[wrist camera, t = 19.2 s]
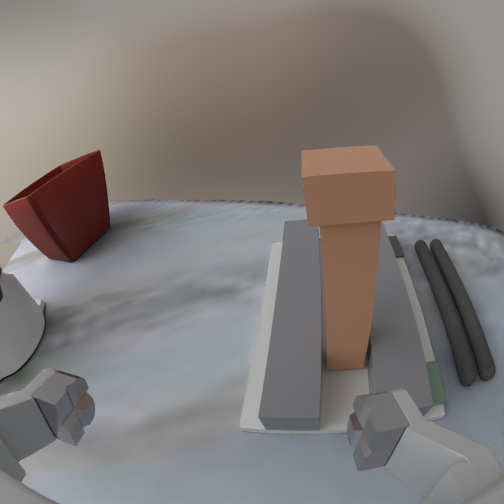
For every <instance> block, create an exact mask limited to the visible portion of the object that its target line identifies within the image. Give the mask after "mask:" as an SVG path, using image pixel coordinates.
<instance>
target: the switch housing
mask: <svg viewBox="0 0 504 504" xmlns="http://www.w3.org/2000/svg"><path fill="white" fill-rule="evenodd" d="M403 258H404V254H403V251H402V249H401V246H400V244H399V241H398V239H397V237H396V236H394V234H393V233H390V234H387V233H386V230H385V228H384V225H383V223H382V221H381V232H380V249H379V262H378V273H377V283H376V292H375V300H374V308H373V315H372V322H371V329H370V335H369V341H368V346H367V352H366V357H365V362H364V367H363V368H362V369H349V370H333V371H327V344H326V312H325V291H324V275H323V260H322V248H321V239H319V232H318V226H308V220H297V221H286V222H285V226H284V235H283V242H274V243H272V248H271V254H270V260H269V266H268V272H267V278H266V284H265V289H264V295H263V301H262V307H261V312H260V318H259V323H258V329H257V335H256V340H255V346H254V351H253V356H252V362H251V367H250V372H249V378H248V383H247V388H246V393H245V399H244V404H243V409H242V414H241V419H240V424H239V428H240V429H241V431H247V432H259V433H277V434H333V433H347V423H348V420H349V416H350V415H351V414H352V413H353V412H355V410H354V407H353V403H354V400H355V398H356V397H357V396H358V395H366V394H373V393H380V392H388V391H391V390H396V389H402V388H403V389H405V390H406V391H407V392H408V394H409V395H410V397H411V398H412V400H413V401H414V403H415V404H416V406H417V407H418V409H419V411H420V412H421V414H422V415H423V417H424V418H425V420H426V422H427V421H434V420H439V419H441V418H442V417H443V416H444V415H445V411H444V405H443V404H444V403H445V402H446V401H445V395H444V390H443V385H442V380H441V375H440V370H439V366H438V362H437V360H435V359H434V355H433V351H432V347H431V343H430V339H429V335H428V332H427V328H426V324H425V321H424V318H423V314H422V311H421V308H420V304H419V301H418V298H417V295H416V292H415V289H414V286H413V283H412V280H411V278H410V275H409V272H408V269H407V266H406V264H405V261H404V259H403Z"/></svg>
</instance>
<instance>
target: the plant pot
mask: <svg viewBox="0 0 504 504" xmlns="http://www.w3.org/2000/svg"><path fill="white" fill-rule="evenodd" d="M3 207H4V209H5V210H6V212H7V213H8V215H9V216H10V218H11V219H12V220H13V222H14V223H15V224H16V226H17V227H18V228H19V229H20V231H21V232H22V233H23V234H24V235H25V236H26V237H27V238H28V240H29V241H30V242H31V243H32V244H33V245H34V246H35V247H37V248H38V249H39V250H40V251H41V252H42V253H43V254H44V255H46V256H47V257H48V258H50V259H56V260H62V261H68V262H72V261H74V260H75V259H77V258H78V257H79V256H80V255H81V254H82V253H83V252H84V251H85V250H86V249H87V248H88V247H89V246H90V245H91V244H92V243H94V242H95V241H96V240H97V239H98V238H99V237H100V236H101V235H102V234H103V233H105V232H106V231H107V230H108V229H109V228H110V217H109V206H108V196H107V188H106V180H105V173H104V168H103V162H102V157H101V153H100V150H98V151H95V152H92V153H89V154H86V155H84V156H81V157H79V158H76V159H74V160H71V161H69V162H67V163H65V164H62V165H60V166H59V167H57V168H55V169H54V170H52V171H50V172H49V173H47V174H46V175H44V176H43V177H41V178H40V179H38V180H37V181H35V182H34V183H32V184H31V185H30V186H28V187H27V188H25V189H24V190H22V191H21V192H20V193H18V194H17V195H16V196H14V197H13V198H12V199H10V200H9V201H8V202H7V203H5V204H4V205H3Z"/></svg>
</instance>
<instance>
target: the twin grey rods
mask: <svg viewBox="0 0 504 504" xmlns="http://www.w3.org/2000/svg"><path fill="white" fill-rule="evenodd" d="M430 248H431V250H432V252H433V254H434V256H435V258H436V260H437V262H438V264H439V266H440V269H441V271H442V273H443V275H444V277H445V279H446V282H447V284H448V286H449V288H450V291H451V293H452V296H453V298H454V300H455V303H456V305H457V308H458V310H459V313H460V316H461V318H462V321H463V324H464V326H465V329H466V332H467V335H468V338H469V341H470V344H471V347H472V350H473V353H474V356H475V360H476V363H477V367H478V370H479V374H480V377H481V378H482V379H483V380H485V381H487V380H490V379H491V378H492V377H493V376H494V374H495V365H494V362H493V359H492V356H491V353H490V350H489V347H488V344H487V341H486V338H485V336H484V333H483V330H482V328H481V325H480V323H479V320H478V318H477V315H476V313H475V310H474V308H473V306H472V303H471V301H470V299H469V297H468V294H467V292H466V290H465V288H464V286H463V284H462V282H461V280H460V278H459V276H458V274H457V272H456V270H455V268H454V266H453V264H452V262H451V260H450V258H449V256H448V254H447V252H446V251H445V249H444V247H443V245H442V243H441V242H440V241H439V240H438V239H434V240H432V241H431V243H430ZM415 250H416V252H417V254H418V257H419V259H420V261H421V264H422V266H423V268H424V271H425V273H426V276H427V278H428V281H429V283H430V286H431V288H432V291H433V293H434V296H435V299H436V301H437V304H438V307H439V310H440V313H441V316H442V319H443V322H444V325H445V328H446V331H447V334H448V337H449V341H450V344H451V347H452V351H453V355H454V358H455V362H456V366H457V370H458V374H459V378H460V382H461V383H462V384H463V385H464V386H469V385H471V384H473V383H474V381H475V380H476V376H477V374H476V370H475V366H474V363H473V359H472V356H471V353H470V349H469V346H468V343H467V340H466V337H465V334H464V331H463V328H462V326H461V323H460V320H459V317H458V315H457V312H456V309H455V307H454V304H453V302H452V299H451V297H450V294H449V292H448V290H447V287H446V285H445V283H444V280H443V278H442V276H441V274H440V272H439V269H438V267H437V265H436V263H435V261H434V259H433V257H432V255H431V253H430V251H429V249H428V247H427V245H426V243H425V242H424V241H422V240H419V241H417V242H416V243H415Z"/></svg>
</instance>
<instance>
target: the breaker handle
mask: <svg viewBox="0 0 504 504" xmlns="http://www.w3.org/2000/svg"><path fill="white" fill-rule="evenodd" d="M302 182H303V189H304V197H305V204H306V212H307V219H308V226H320V236H321V248H322V260H323V275H324V291H325V312H326V344H327V371H333V370H349V369H362V368H363V367H364V362H365V357H366V352H367V346H368V341H369V335H370V329H371V322H372V315H373V308H374V300H375V292H376V283H377V273H378V262H379V249H380V232H381V221H387V220H394V216H395V194H396V170H395V169H394V167H393V166H392V165H391V163H390V162H389V161H388V160H387V159H386V157H385V156H384V155H383V153H382V152H381V151H380V150H379V149H378V147H377V146H357V147H341V148H328V149H317V150H307V151H302Z"/></svg>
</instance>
